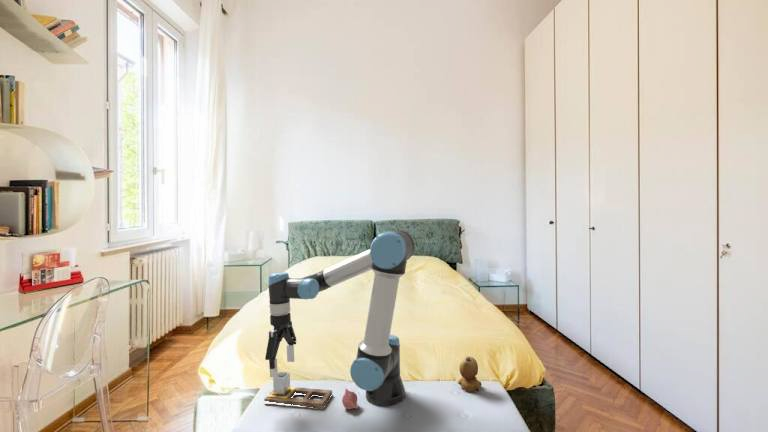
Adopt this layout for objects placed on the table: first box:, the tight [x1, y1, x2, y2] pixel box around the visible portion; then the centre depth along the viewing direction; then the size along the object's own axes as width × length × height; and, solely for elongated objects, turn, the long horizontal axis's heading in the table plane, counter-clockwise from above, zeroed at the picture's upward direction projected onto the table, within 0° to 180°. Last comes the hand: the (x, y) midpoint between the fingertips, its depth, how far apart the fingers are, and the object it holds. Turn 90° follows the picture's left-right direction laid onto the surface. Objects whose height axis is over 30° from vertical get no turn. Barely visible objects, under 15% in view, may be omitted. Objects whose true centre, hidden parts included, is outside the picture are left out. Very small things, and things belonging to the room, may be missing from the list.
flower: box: [341, 388, 359, 410], centre depth 127 cm, size 8×8×6 cm
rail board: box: [263, 386, 333, 410], centre depth 133 cm, size 23×10×2 cm, turn 79°
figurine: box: [457, 356, 482, 393], centre depth 138 cm, size 10×8×15 cm
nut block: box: [272, 371, 291, 396], centre depth 135 cm, size 4×4×9 cm
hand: (282, 368), depth 134 cm, fingers open, 13 cm apart
